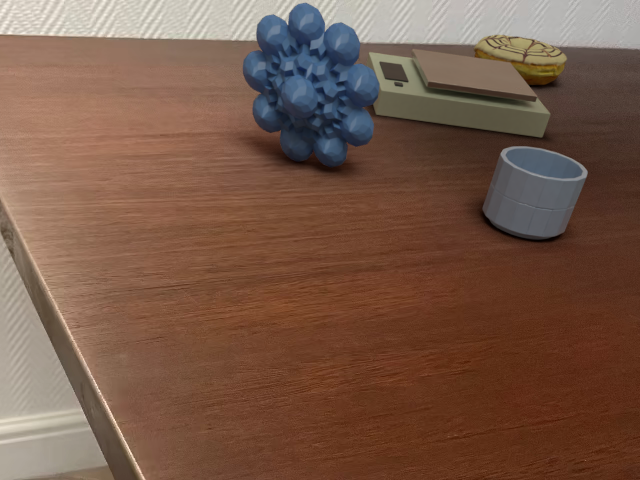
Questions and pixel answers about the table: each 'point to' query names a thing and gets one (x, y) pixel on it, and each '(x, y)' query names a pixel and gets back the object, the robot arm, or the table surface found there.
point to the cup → (533, 192)
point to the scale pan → (472, 75)
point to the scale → (449, 101)
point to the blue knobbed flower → (311, 85)
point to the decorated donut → (524, 57)
